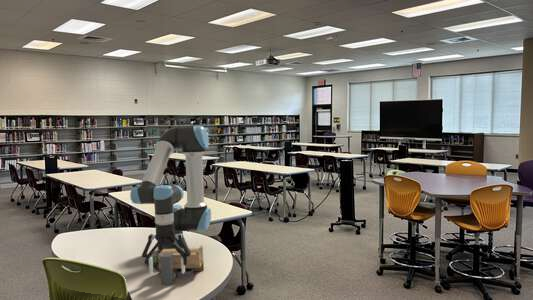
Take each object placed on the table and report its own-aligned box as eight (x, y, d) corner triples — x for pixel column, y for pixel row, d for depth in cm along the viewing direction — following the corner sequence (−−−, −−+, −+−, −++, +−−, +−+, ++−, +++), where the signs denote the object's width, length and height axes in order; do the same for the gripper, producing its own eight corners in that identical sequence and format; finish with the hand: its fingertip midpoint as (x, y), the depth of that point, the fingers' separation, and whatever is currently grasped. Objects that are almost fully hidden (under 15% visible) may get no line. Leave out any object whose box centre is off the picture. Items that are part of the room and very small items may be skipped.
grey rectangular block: (170, 272, 175) (169, 246, 174) (179, 272, 175) (178, 246, 174) (162, 284, 162) (160, 256, 161) (171, 284, 162) (169, 256, 161)
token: (181, 272, 175) (181, 266, 175) (194, 272, 175) (194, 266, 175) (177, 278, 169) (177, 271, 169) (191, 277, 169) (190, 271, 169)
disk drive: (179, 265, 184) (163, 258, 195) (179, 260, 184) (163, 252, 194) (160, 272, 177) (144, 264, 187) (159, 266, 177) (143, 258, 187)
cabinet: (164, 270, 177) (163, 246, 176) (203, 269, 177) (202, 245, 176) (159, 277, 169) (157, 252, 168) (200, 276, 169) (199, 251, 168)
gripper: (131, 226, 158) (134, 276, 160) (192, 224, 157) (194, 275, 159) (138, 221, 166) (141, 269, 167) (196, 219, 165) (198, 268, 166)
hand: (167, 272), depth 163 cm, fingers open, 13 cm apart
